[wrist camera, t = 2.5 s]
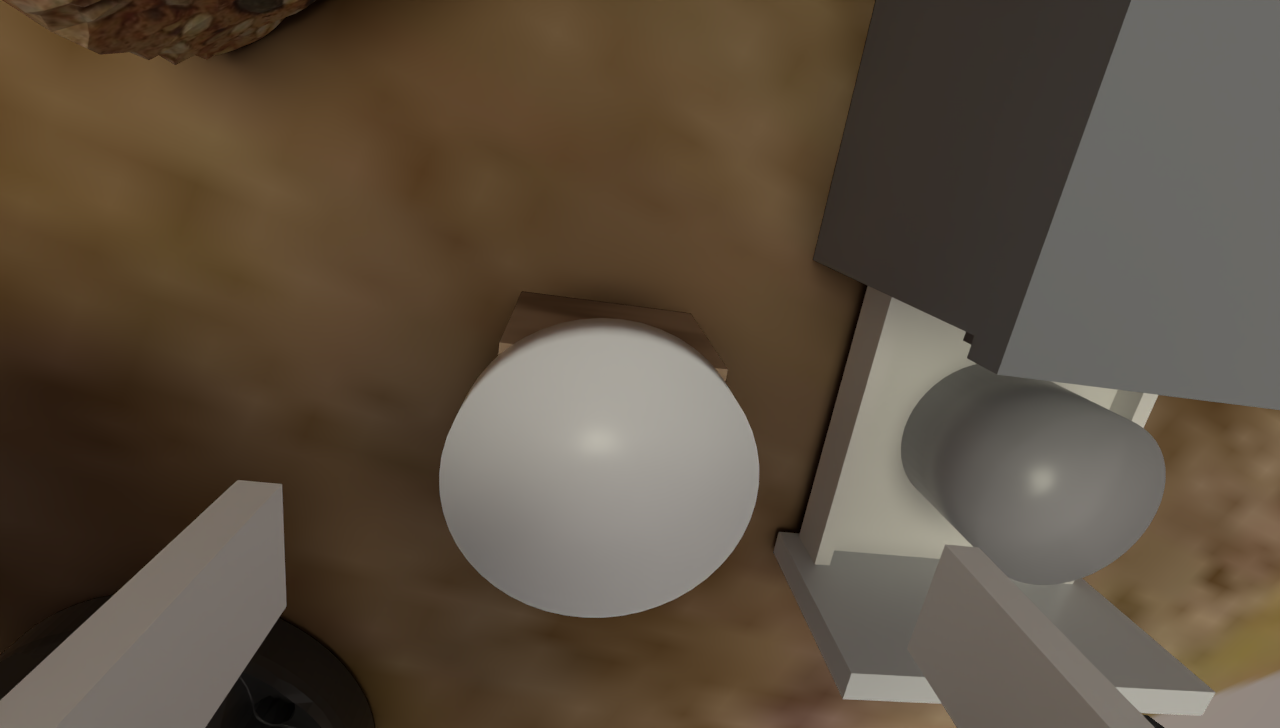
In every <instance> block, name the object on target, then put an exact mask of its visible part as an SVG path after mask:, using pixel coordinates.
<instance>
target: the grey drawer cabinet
mask: <svg viewBox="0 0 1280 728" xmlns="http://www.w3.org/2000/svg"><path fill="white" fill-rule="evenodd" d="M813 260H814V261H816V262H819V263H821V264H823V265H825V266H827V267H829V268H831V269H833V270H836V271H838V272H840V273H842V274H844V275H846V276H848V277H850V278H853V279H855V280H857V281H859V282H861V283H863V284H865V285H867V286H870V287H872V288H874V289H876V290H878V291H880V292H882V293H885V294H887V295H889V296H891V297H893V298H895V299H897V300H899V301H902V302H904V303H906V304H908V305H910V306H912V307H914V308H916V309H919V310H921V311H923V312H925V313H927V314H929V315H931V316H933V317H936V318H938V319H940V320H942V321H944V322H946V323H948V324H951V325H953V326H955V327H957V328H959V329H961V330H963V331H965V332H966V333H965V336H964V339H963V341H965V342H967V343H969V344H971V347H970V350H969V353H968V356H967V359H969V360H971V361H973V362H975V363H976V364H978V365H980V366H982V367H984V368H986V369H988V370H989V371H991V372H993V373H995V374H997V375H1004V376H1012V377H1020V378H1028V379H1036V380H1044V381H1052V382H1060V383H1068V384H1076V385H1084V386H1092V387H1100V388H1108V389H1116V390H1124V391H1132V392H1140V393H1148V394H1156V395H1164V396H1172V397H1180V398H1188V399H1196V400H1204V401H1212V402H1220V403H1228V404H1236V405H1244V406H1252V407H1260V408H1268V409H1276V410H1280V0H876V2H875V6H874V10H873V14H872V19H871V23H870V27H869V31H868V35H867V39H866V43H865V47H864V52H863V56H862V60H861V64H860V68H859V72H858V76H857V80H856V85H855V89H854V93H853V97H852V101H851V105H850V109H849V113H848V118H847V122H846V126H845V130H844V134H843V138H842V142H841V146H840V151H839V155H838V159H837V163H836V167H835V171H834V175H833V179H832V184H831V188H830V192H829V196H828V200H827V204H826V208H825V212H824V216H823V221H822V225H821V229H820V233H819V237H818V241H817V245H816V249H815V254H814V258H813Z"/></svg>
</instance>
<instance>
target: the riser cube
mask: <svg viewBox="0 0 1280 728" xmlns="http://www.w3.org/2000/svg"><path fill="white" fill-rule="evenodd" d="M592 318H611V319H624V320H629V321H634V322H639V323H643V324H646V325H649V326H652V327H655V328H658V329H661V330H663V331H665V332H667V333H670V334H672V335H674V336H676V337H678V338H679V339H681V340H682V341H684V342H686V343H687V344H689V345H690V346H692V347H693V348H695V349H696V350H697V351H698V352H699V353H700V354H701V355H702V356H704V357H705V358H706V359H707V360H708V361H709V362H710V363H711V364H712V366H713V367H714V368H715V369H716V370H717V371H718V373H719V374H720V375H721V377H722V378H723V380H724V381H726V376H727V371H728V369H727V367H726V366H725V364H724V363H723V361H722V360H721V358H720V357H719V355H718V354H717V352H716V351H715V349H714V348H713V346H712V345H711V343H710V342H709V340H708V339H707V337H706V336H705V334H704V333H703V331H702V330H701V328H700V327H699V325H698V324H697V322H696V321H695V319H694V318H693V316H692V315H691V313H683V312H675V311H668V310H660V309H652V308H644V307H637V306H629V305H621V304H614V303H606V302H598V301H591V300H583V299H575V298H568V297H560V296H552V295H545V294H537V293H529V292H521V295H520V297H519V299H518V301H517V304H516V306H515V308H514V310H513V313H512V315H511V317H510V320H509V322H508V324H507V326H506V329H505V331H504V333H503V335H502V338H501V340H500V342H499V352H498V356H499V355H500V354H501V353H502V352H503V351H505V350H506V349H507V348H509V347H510V346H512V345H513V344H515V343H516V342H518V341H519V340H521V339H522V338H524V337H526V336H529V335H531V334H533V333H535V332H537V331H539V330H541V329H544V328H547V327H550V326H553V325H556V324H559V323H564V322H569V321H574V320H579V319H592Z"/></svg>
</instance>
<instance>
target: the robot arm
mask: <svg viewBox="0 0 1280 728" xmlns="http://www.w3.org/2000/svg"><path fill="white" fill-rule="evenodd" d="M286 606H287V603H286V576H285V549H284V522H283V495H282V484H276V483H265V482H254V481H243V480H237V481H236V482H235V483H234V484H233V485H232V486H231V487H229V488H228V489H227V490H226V491H225V492H224V493H223V494H222V495H221V496H220V497H219V498H218V499H217V500H215V501H214V502H213V503H212V504H211V505H210V506H209V507H208V508H207V509H206V510H205V511H204V512H203V513H201V514H200V515H199V516H198V517H197V518H196V519H195V520H194V521H193V522H192V523H191V524H190V525H189V526H187V527H186V528H185V529H184V530H183V531H182V532H181V533H180V534H179V535H178V536H177V537H176V538H175V539H173V540H172V541H171V542H170V543H169V544H168V545H167V546H166V547H165V548H164V549H163V550H162V551H161V552H159V553H158V554H157V555H156V556H155V557H154V558H153V559H152V560H151V561H150V562H149V563H148V564H147V565H145V566H144V567H143V568H142V569H141V570H140V571H139V572H138V573H137V574H136V575H135V576H134V577H133V578H131V579H130V580H129V581H128V582H127V583H126V584H125V585H124V586H123V587H122V588H121V589H120V590H119V591H117V592H116V593H115V594H114V595H110V596H105V597H101V598H96V599H93V600H89V601H86V602H83V603H80V604H77V605H74V606H71V607H69V608H67V609H64V610H62V611H60V612H58V613H56V614H54V615H52V616H50V617H48V618H46V619H45V620H43V621H42V622H40V623H39V624H37V625H36V626H34V627H33V628H32V629H30V630H29V631H28V632H26V633H25V634H24V635H23V636H22V637H21V638H19V639H18V640H17V641H16V642H15V643H14V644H12V645H11V646H10V647H9V648H8V649H7V650H6V651H4V652H3V653H2V654H1V655H0V728H375V727H374V721H373V717H372V714H371V711H370V708H369V705H368V703H367V700H366V698H365V696H364V694H363V692H362V691H361V689H360V687H359V685H358V684H357V682H356V681H355V679H354V678H353V676H352V675H351V674H350V673H349V671H348V670H347V669H346V668H345V666H344V665H343V664H342V663H341V662H340V661H339V660H338V659H337V658H336V657H335V656H334V655H333V654H332V653H331V652H329V651H328V650H327V649H326V648H325V647H324V646H322V645H321V644H320V643H319V642H317V641H316V640H315V639H313V638H312V637H310V636H309V635H307V634H306V633H305V632H303V631H301V630H300V629H298V628H296V627H295V626H293V625H291V624H289V623H287V622H285V621H283V620H282V619H280V618H279V617H280V615H281V614H282V612H283V611H284V609H285V608H286ZM907 650H908V651H909V653H910V654H911V656H912V657H913V659H914V661H915V662H916V664H917V665H918V667H919V669H920V670H921V672H922V673H923V675H924V676H925V678H926V680H927V681H928V683H929V684H930V686H931V687H932V689H933V691H934V692H935V694H936V695H937V697H938V699H939V700H940V702H941V703H942V705H943V706H944V708H945V710H946V711H947V713H948V714H949V716H950V717H951V719H952V721H953V722H954V724H955V725H956V727H957V728H1164V727H1163V726H1161V725H1160V724H1159V723H1157V722H1156V721H1155V720H1153V719H1152V718H1150V717H1149V716H1148V715H1142V714H1141V713H1140V712H1139V711H1138V710H1137V709H1136V708H1135V707H1134V706H1133V705H1132V704H1131V703H1130V702H1129V701H1128V700H1127V699H1126V698H1125V697H1124V696H1123V695H1122V694H1121V693H1120V692H1119V690H1118V689H1117V688H1116V687H1115V686H1114V685H1113V684H1112V683H1111V682H1110V681H1109V680H1108V679H1107V678H1106V677H1105V676H1104V675H1103V674H1102V673H1101V672H1100V671H1099V670H1098V669H1097V668H1096V667H1095V666H1094V665H1093V664H1092V663H1091V662H1090V661H1089V660H1088V659H1087V658H1086V657H1085V656H1084V655H1083V654H1082V653H1081V652H1080V651H1079V650H1078V649H1077V647H1076V646H1075V645H1074V644H1073V643H1072V642H1071V641H1070V640H1069V639H1068V638H1067V637H1066V636H1065V635H1064V634H1063V633H1062V632H1061V631H1060V630H1059V629H1058V628H1057V627H1056V626H1055V625H1054V624H1053V623H1052V622H1051V621H1050V620H1049V619H1048V618H1047V617H1046V616H1045V615H1044V614H1043V613H1042V612H1041V611H1040V610H1039V609H1038V608H1037V607H1036V606H1035V605H1034V603H1033V602H1032V601H1031V600H1030V599H1029V598H1028V597H1027V596H1026V595H1025V594H1024V593H1023V592H1022V591H1021V590H1020V589H1019V588H1018V587H1017V586H1016V585H1015V584H1014V583H1013V582H1012V581H1011V580H1010V579H1009V578H1008V577H1007V576H1006V575H1005V574H1004V573H1003V572H1002V571H1001V570H1000V569H999V568H998V567H997V566H996V565H995V564H994V563H993V562H992V560H991V559H990V558H989V557H988V556H987V555H986V554H985V553H984V552H983V551H982V550H981V549H980V548H979V547H968V546H957V545H946V544H945V546H944V549H943V552H942V554H941V557H940V560H939V563H938V565H937V568H936V571H935V573H934V576H933V579H932V582H931V584H930V587H929V590H928V593H927V595H926V598H925V601H924V603H923V606H922V609H921V612H920V614H919V617H918V620H917V622H916V625H915V628H914V631H913V633H912V636H911V639H910V642H909V644H908V647H907Z"/></svg>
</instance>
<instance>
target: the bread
mask: <svg viewBox="0 0 1280 728" xmlns="http://www.w3.org/2000/svg"><path fill="white" fill-rule="evenodd" d="M3 1H4V2H6V3H8V4H9V5H11V6H12V7H14V8H15V9H17V10H18V11H20V12H22V13H23V14H25V15H26V16H28V17H29V18H31V19H32V20H34V21H36V22H37V23H39V24H40V25H42V26H43V27H45V28H46V29H48V30H49V31H51V32H53V33H55V34H57V35H59V36H62V37H64V38H66V39H68V40H70V41H72V42H75V43H77V44H79V45H81V46H83V47H85V48H87V49H90V50H92V51H94V52H96V53H98V54H112V53H124V52H131V53H133V54H136V55H138V56H141V57H143V58H145V59H148V60H150V59H152V58H154V57H156V56H158V55H160V56H161V57H163V58H165V59H166V60H168V61H169V62H171V63H172V64H174V65H177V64H178V63H180V62H182V61H184V60H186V59H188V58H190V57H192V56H193V55H197V56H199V57H202V58H204V59H209V58H211V57H212V56H214V55H215V56H216V55H219V54H223V53H226V52H229V51H233V50H236V49H238V48H240V47H243V46H245V45H248V44H250V43H252V42H255V41H257V40H259V39H262V38H263V37H264V36H265V35H267V34H268V33H269V32H270V31H272V30H273V29H274V28H276V27H277V25H278V24H279V23H280V22H281V21H282V20H283V19H284V18H285V17H287V16H290V15H293V14H296V13H297V12H299V11H301V10H303V9H304V8H306V7H308V6H309V5H310V4H312V3H313V2H315V1H316V0H3Z"/></svg>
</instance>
